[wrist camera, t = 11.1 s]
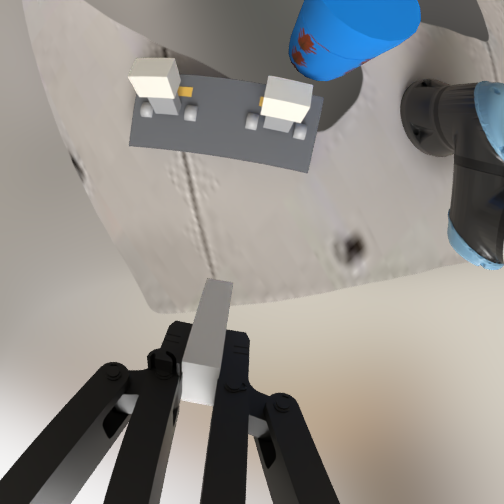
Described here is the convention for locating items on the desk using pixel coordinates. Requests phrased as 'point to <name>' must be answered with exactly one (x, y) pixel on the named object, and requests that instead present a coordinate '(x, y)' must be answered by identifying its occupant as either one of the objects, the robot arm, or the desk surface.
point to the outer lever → (157, 83)
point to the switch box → (225, 124)
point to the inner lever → (285, 103)
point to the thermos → (348, 34)
